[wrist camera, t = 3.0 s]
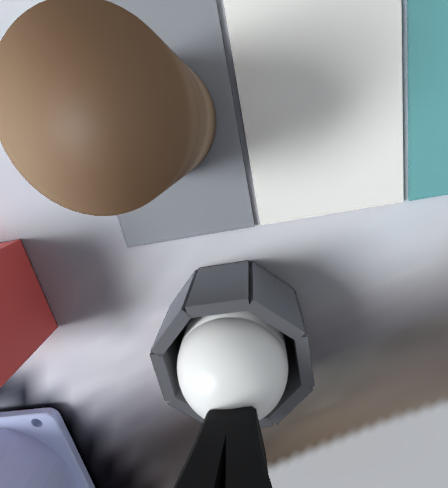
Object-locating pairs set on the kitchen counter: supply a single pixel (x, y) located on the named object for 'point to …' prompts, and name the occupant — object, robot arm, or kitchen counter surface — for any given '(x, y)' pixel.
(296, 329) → the dome housing
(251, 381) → the dome cap
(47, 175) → the walnut pawn
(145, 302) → the kitchen counter surface
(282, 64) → the game track
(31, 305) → the red die
